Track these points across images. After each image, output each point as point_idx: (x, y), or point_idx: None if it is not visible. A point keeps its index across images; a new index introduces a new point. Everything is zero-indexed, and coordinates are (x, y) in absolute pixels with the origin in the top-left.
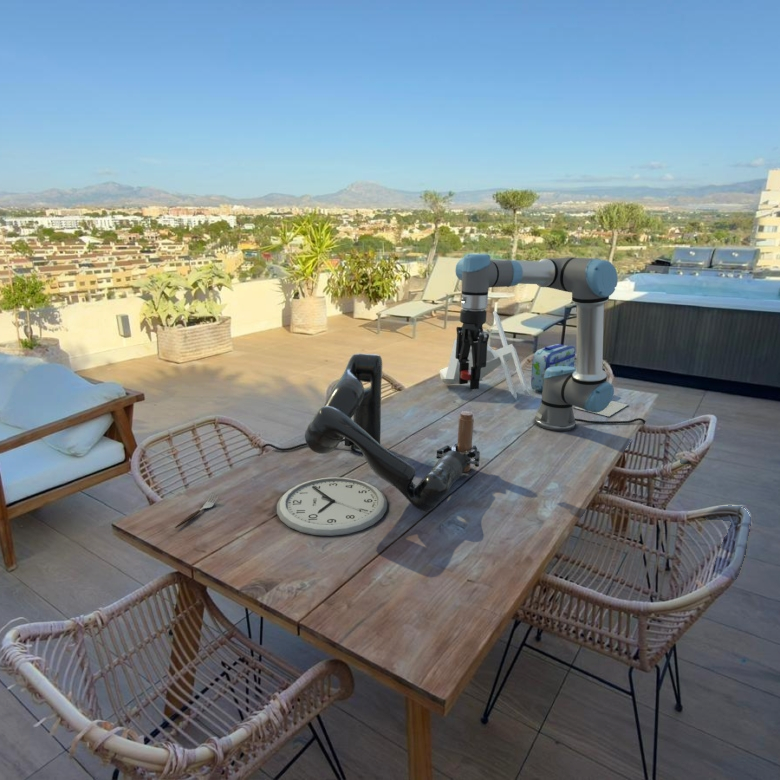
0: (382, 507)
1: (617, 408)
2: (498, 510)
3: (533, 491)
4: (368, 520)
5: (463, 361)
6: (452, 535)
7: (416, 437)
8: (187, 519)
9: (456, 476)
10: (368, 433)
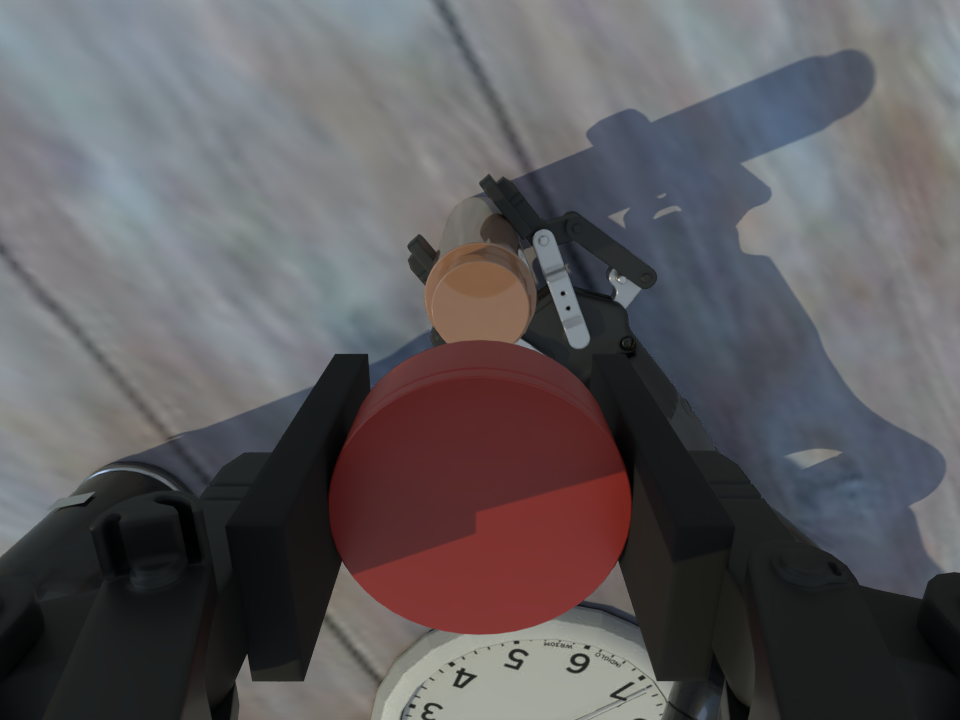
0: (642, 648)
1: None
2: (850, 306)
3: (829, 48)
4: None
5: (232, 643)
6: (867, 524)
7: (49, 252)
8: None
9: (711, 441)
10: None
